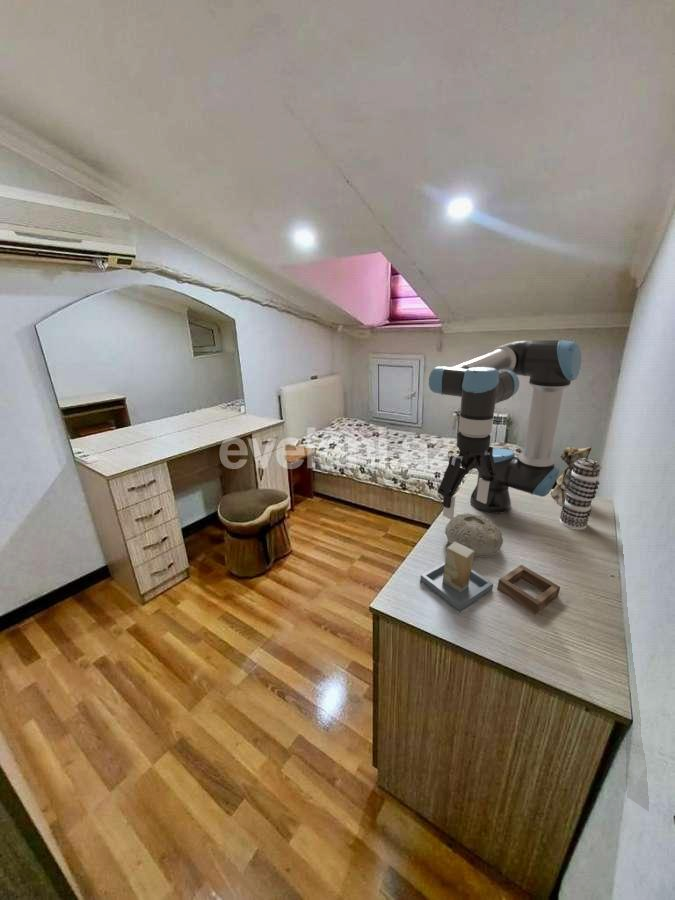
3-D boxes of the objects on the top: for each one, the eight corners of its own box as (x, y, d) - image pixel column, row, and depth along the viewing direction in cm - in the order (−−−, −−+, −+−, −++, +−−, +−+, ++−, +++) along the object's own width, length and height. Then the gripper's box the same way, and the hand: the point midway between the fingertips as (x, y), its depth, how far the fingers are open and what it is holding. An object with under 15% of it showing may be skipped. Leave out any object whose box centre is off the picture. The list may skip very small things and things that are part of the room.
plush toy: (583, 513, 133) (598, 449, 128) (543, 503, 142) (556, 442, 137) (588, 507, 143) (603, 447, 138) (550, 497, 152) (563, 441, 147)
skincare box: (441, 582, 101) (445, 547, 97) (449, 575, 104) (453, 540, 99) (462, 594, 97) (467, 557, 92) (470, 586, 99) (475, 550, 95)
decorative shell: (505, 542, 119) (509, 516, 115) (494, 572, 105) (498, 544, 102) (453, 526, 129) (455, 502, 125) (436, 552, 115) (438, 526, 111)
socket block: (519, 574, 104) (521, 564, 103) (557, 597, 96) (560, 586, 94) (497, 589, 99) (498, 579, 97) (535, 615, 90) (538, 604, 89)
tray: (452, 563, 109) (453, 557, 108) (492, 590, 98) (493, 583, 97) (420, 581, 102) (420, 574, 101) (459, 612, 91) (460, 605, 90)
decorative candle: (552, 516, 133) (566, 455, 124) (577, 516, 133) (593, 455, 124) (566, 530, 124) (582, 466, 116) (593, 530, 124) (611, 465, 115)
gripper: (491, 420, 94) (482, 490, 102) (426, 439, 81) (421, 517, 89) (518, 426, 88) (506, 500, 96) (452, 448, 76) (444, 531, 83)
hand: (465, 509), depth 92 cm, fingers open, 13 cm apart
